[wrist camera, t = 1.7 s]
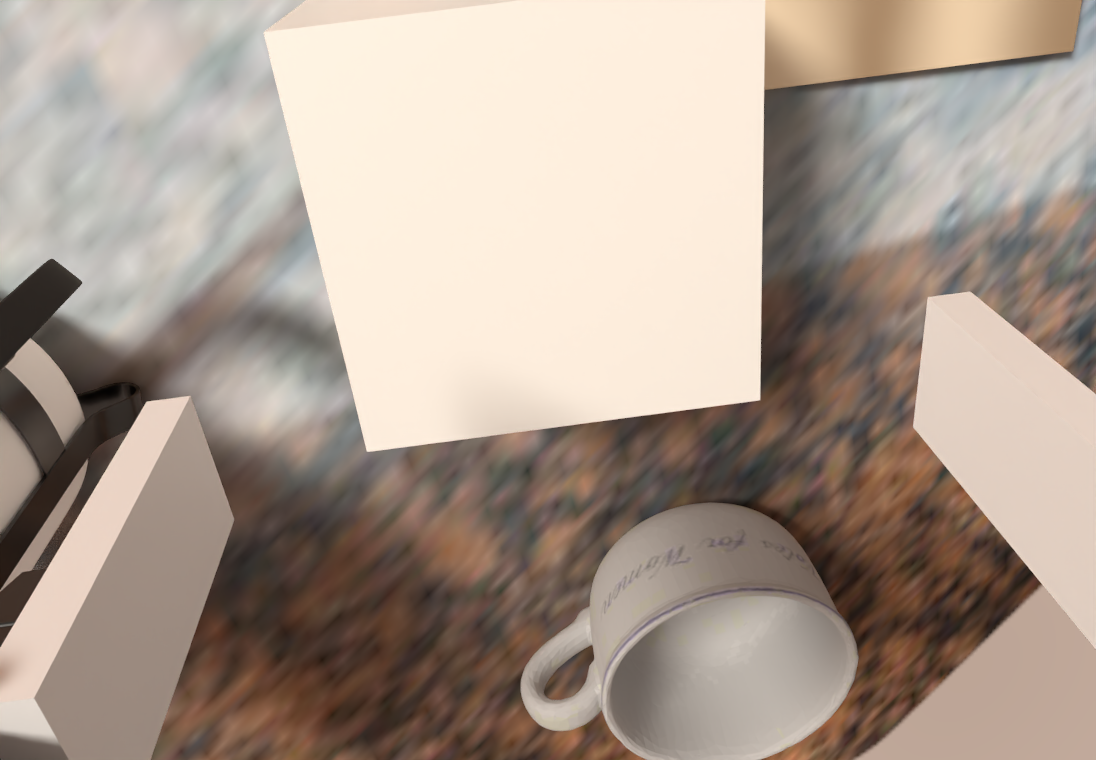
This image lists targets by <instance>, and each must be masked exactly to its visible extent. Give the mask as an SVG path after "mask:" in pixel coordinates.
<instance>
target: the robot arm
mask: <svg viewBox="0 0 1096 760" xmlns="http://www.w3.org/2000/svg"><path fill="white" fill-rule="evenodd" d="M913 427H914V429H915V430H916V431H917V432H918V434H919V435H920V436H921V437H922V438H923V440H924V441H925V442H926V443H927V445H928V446H929V447H930V448H931V449H932V451H933V452H934V453H935V454H936V455H937V457H938V458H939V459H940V460H941V462H942V463H943V464H944V465H945V466H946V468H947V469H948V470H949V471H950V473H951V474H952V475H953V476H954V477H955V479H956V480H957V481H958V482H959V484H960V485H961V486H962V487H963V488H964V490H965V491H966V492H967V493H968V494H969V496H970V497H971V498H972V499H973V501H974V502H975V503H976V504H977V505H978V507H979V508H980V509H981V510H982V512H983V513H984V514H985V515H986V516H987V518H988V519H989V520H990V521H991V523H992V524H993V525H994V526H995V527H996V529H997V530H998V531H999V532H1000V533H1001V535H1002V536H1003V537H1004V538H1005V540H1006V541H1007V542H1008V543H1009V544H1010V546H1011V547H1012V548H1013V549H1014V551H1015V552H1016V553H1017V554H1018V555H1019V557H1020V558H1021V559H1022V560H1023V562H1024V563H1025V564H1026V565H1027V566H1028V568H1029V569H1030V570H1031V571H1032V572H1033V574H1034V575H1035V576H1036V577H1037V579H1038V580H1039V581H1040V582H1041V583H1042V585H1043V586H1044V587H1045V588H1046V589H1047V591H1048V592H1049V593H1050V594H1051V596H1052V597H1053V598H1054V599H1055V601H1056V602H1057V603H1058V604H1059V605H1060V607H1061V608H1062V609H1063V610H1064V611H1065V612H1066V614H1067V615H1068V616H1069V617H1070V619H1071V620H1072V621H1073V622H1074V624H1075V625H1076V626H1077V627H1078V628H1079V630H1080V631H1081V632H1082V633H1083V635H1084V636H1085V637H1086V638H1087V640H1088V641H1089V642H1090V643H1091V644H1092V646H1093V647H1094V648H1095V649H1096V394H1095V393H1094V392H1092V391H1091V390H1090V389H1089V388H1088V387H1086V386H1085V385H1084V384H1083V383H1081V382H1080V381H1079V380H1078V379H1077V378H1075V377H1074V376H1073V375H1072V374H1070V373H1069V372H1068V371H1067V370H1065V369H1064V368H1063V367H1062V366H1061V365H1059V364H1058V363H1057V362H1056V361H1054V360H1053V359H1052V358H1051V357H1050V356H1048V355H1047V354H1046V353H1045V352H1043V351H1042V350H1041V349H1040V348H1039V347H1037V346H1036V345H1035V344H1034V343H1032V342H1031V341H1030V340H1029V339H1028V338H1026V337H1025V336H1024V335H1023V334H1021V333H1020V332H1019V331H1018V330H1017V329H1015V328H1014V327H1013V326H1012V325H1010V324H1009V323H1008V322H1007V321H1006V320H1004V319H1003V318H1002V317H1001V316H999V315H998V314H997V313H996V312H995V311H993V310H992V309H991V308H990V307H988V306H987V305H986V304H985V303H983V302H982V301H981V300H980V299H979V298H977V297H976V296H975V295H974V294H972V293H971V292H964V293H956V294H949V295H941V296H934V297H928V302H927V310H926V319H925V328H924V336H923V345H922V354H921V362H920V371H919V380H918V388H917V397H916V406H915V415H914V423H913ZM233 522H234V517H233V514H232V511H231V509H230V506H229V503H228V500H227V497H226V495H225V492H224V489H223V486H222V483H221V480H220V478H219V475H218V472H217V469H216V466H215V463H214V461H213V458H212V455H211V452H210V449H209V446H208V444H207V441H206V438H205V435H204V432H203V429H202V427H201V424H200V421H199V418H198V415H197V412H196V410H195V407H194V404H193V401H192V398H191V396H185V397H177V398H170V399H162V400H155V401H147V402H146V404H145V405H144V407H143V409H142V410H141V412H140V414H139V415H138V417H137V419H136V420H135V422H134V424H133V425H132V427H131V429H130V431H129V432H128V434H127V436H126V437H125V439H124V441H123V442H122V444H121V446H120V447H119V449H118V451H117V452H116V454H115V456H114V457H113V459H112V461H111V462H110V464H109V466H108V467H107V469H106V471H105V472H104V474H103V476H102V478H101V479H100V481H99V483H98V484H97V486H96V488H95V489H94V491H93V493H92V494H91V496H90V498H89V499H88V501H87V503H86V504H85V506H84V508H83V509H82V511H81V513H80V514H79V516H78V518H77V520H76V521H75V523H74V525H73V526H72V528H71V530H70V531H69V533H68V535H67V536H66V538H65V540H64V541H63V543H62V545H61V546H60V548H59V550H58V551H57V553H56V555H55V556H54V558H53V560H52V562H51V563H50V565H49V567H48V568H47V569H41V570H33V571H26V572H22V573H21V574H20V575H18V576H17V577H16V578H15V579H14V580H13V581H12V582H11V583H9V584H8V585H7V586H6V587H5V588H4V589H3V590H1V591H0V760H150V759H151V756H152V753H153V751H154V748H155V745H156V742H157V739H158V736H159V734H160V731H161V728H162V725H163V722H164V719H165V716H166V714H167V711H168V708H169V705H170V702H171V699H172V696H173V694H174V691H175V688H176V685H177V682H178V679H179V676H180V674H181V671H182V668H183V665H184V662H185V659H186V656H187V654H188V651H189V648H190V645H191V642H192V639H193V636H194V634H195V631H196V628H197V625H198V622H199V619H200V616H201V614H202V611H203V608H204V605H205V602H206V599H207V596H208V594H209V591H210V588H211V585H212V582H213V579H214V577H215V574H216V571H217V568H218V565H219V562H220V559H221V557H222V554H223V551H224V548H225V545H226V542H227V539H228V537H229V534H230V531H231V528H232V525H233Z"/></svg>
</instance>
